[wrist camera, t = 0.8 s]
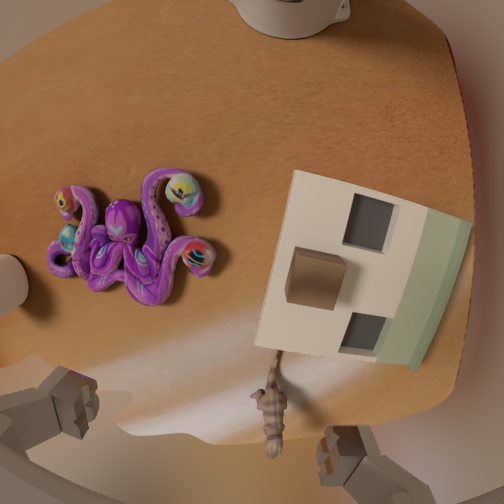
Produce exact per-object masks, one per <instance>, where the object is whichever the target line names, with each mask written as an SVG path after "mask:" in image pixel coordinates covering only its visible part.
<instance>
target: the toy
mask: <svg viewBox="0 0 504 504" xmlns="http://www.w3.org/2000/svg"><path fill="white" fill-rule="evenodd" d="M279 357H280V350H278V353H277V356H276V358H275V360H274V362H273V364H272V367H271V370H270V372H269V375H268V379H267V384H266V390H265V394H264V393H263V390H258V391H257V392H255V393H254V394H252V395H251V396H250V397H251V398H256V401H257V409H258V410H262V411H263V417H264V421H265V425H264V427H263V431H264V433H265V435H267V438H266V442H265V450H266V451H267V452H266V455H267V457H268V458H269V459H271V460H272V459H274V458H275V457H276V456H277V455H280V454H281V450H282V447H283V440H282V431H283V430H284V427H285V425H284V424H283V416H284V409H286V408H287V398H286V397H285V396H284V395H283V393H282V392H279V390H278V387H277V383H276V372H277V365H278V361H279ZM266 430H267V433H266Z"/></svg>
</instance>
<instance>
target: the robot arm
mask: <svg viewBox="0 0 504 504" xmlns="http://www.w3.org/2000/svg"><path fill="white" fill-rule="evenodd" d="M228 1H229V2H231V3H233V4H234V5H235V7H236V8H237V10H238V12H239V14H240V16H241V17H242V18H243V19H244V21H245V22H246V23H247V24H249V25H250V26H251V27H253V28H254V29H256V30H258V31H260V32H262V33H264V34H267V35H270V36H273V37H278V38H286V39H296V38H304V37H308V36H311V35H314V34H316V33H318V32H320V31H322V30H323V29H324V28H326V27H327V26H329V25H330V24H332V23H337V22H342V21H346V20H347V19H349V16H350V5H349V0H228ZM341 7H343V8H341ZM97 388H98V387H97V381H96V380H94V379H92V378H90V377H87V376H84V375H82V374H79V373H77V372H74V371H72V370H69V369H67V368H64V367H62V366H59V367H57V368H56V369H55V370H54V371H53V372H52V373H51V374H50V375H49V376H48V377H47V378H46V379H45V380H44V381H43V382H42V383H41V384H40V386H39V387H38V388H37V389H36V388H34V387H33V388H29V389H26V390H22V391H18V392H14V393H10V394H6V395H2V396H0V504H129V503H126V502H123V501H120V500H117V499H114V498H111V497H108V496H105V495H103V494H100V493H98V492H95V491H92V490H90V489H87V488H85V487H83V486H81V485H78V484H76V483H74V482H71V481H69V480H67V479H65V478H63V477H61V476H58V475H57V474H55V473H52V472H50V471H49V470H47V469H45V468H43V467H41V466H39V465H37V464H35V463H34V462H32V461H30V460H29V458H28V455H27V454H26V452H25V451H26V450H28V449H30V448H32V447H34V446H36V445H38V444H40V443H42V442H44V441H46V440H48V439H50V438H52V437H54V436H56V435H58V434H60V433H61V432H63V433H66V434H68V435H71V436H73V437H76V438H78V439H81V440H82V439H83V437H84V435H85V434H86V432H87V430H88V429H89V426H88V422H91V421H93V420H94V419H95V417H96V416H97V412H98V409H99V397H98V396H97V394H96V393H95V391H96V390H97ZM324 433H325V437H324V438H322V439H321V440H320V441H319V443H318V446H317V450H316V461H317V464H318V465H319V466H321V469H320V471H319V478H320V484H321V486H343V488H344V489H345V490H346V491H347V492H348V493H349V494H350V495H351V496H352V498H353V499H354V500H355V501H356V502H357V503H358V504H436V502H435V499H434V497H433V495H432V492H431V490H430V488H429V486H428V485H426V484H425V483H423V482H422V481H420V480H418V479H417V478H416V477H414V476H413V475H412V474H410V473H409V472H408V471H406V470H405V469H403V468H402V467H401V466H399V465H398V464H396V463H395V462H394V461H392V460H391V459H390V458H388V457H387V456H385V455H381V453H380V450H379V448H378V445H377V443H376V440H375V438H374V435H373V433H372V430H371V428H370V426H369V425H332V424H329V425H328V426H327V427H326V429H325V431H324ZM458 504H504V486H502V487H499V488H497V489H495V490H492V491H490V492H487V493H485V494H482V495H480V496H477V497H475V498H472V499H469V500H467V501H464V502H461V503H458Z"/></svg>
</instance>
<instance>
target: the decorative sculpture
mask: <svg viewBox="0 0 504 504" xmlns="http://www.w3.org/2000/svg"><path fill="white" fill-rule="evenodd" d="M165 179H171V180H170V181H169V182H168V184H167V186H166V190H165V194H166V197H167V199H168V200H170V201H171V202H173V203H180V204H177V205H176V206H175V210H176V212H177V213H178V214H179V215H181V216H183V217H189V216H193V215H195V214H197V213H198V212H199V211H200V209H201V208H202V206H203V202H204V200H203V193H202V189H201V188H200V186H199V184H198V182H197V180H196V179H195V177H194V176H193V175H192V174H189V173H188V172H186V171H184V170H182V169H179V168H175V167H160V168H156V169H154V170H152V171H150V172H149V173H148V174H147V175H146V177H145V179H144V181H143V183H142V186H141V205H142V209H143V213H144V216H145V219H146V223H147V228H148V232H147V239H146V241H145V243H144V245H143V247H142V249H141V248H139V247H137V246H136V245H135V244H136V243H137V242H138V240H139V229H140V224H141V213H140V211H139V208H138V207H137V206H136V205H135V204H134V203H133V202H131V201H129V200H125V199H117V200H115V201H113V202H112V203H111V204H110V205H109V206H108V207H107V209H106V211H105V212H106V214H105V224H106V225H96V224H97V221H98V216H99V207H98V202H97V199H96V197H95V195H94V194H93V193H92V192H91V191H90V189H88V188H86V187H85V186H80V185H77V186H73V185H66V186H64V187H62V188H61V189H59V190H58V191H57V193H56V195H55V199H54V201H55V204H56V206H57V208H58V209H59V210H60V211H61V213H62V216H63V218H64V219H65V220H67V221H69V220H71V219H72V217H73V215H72V213H71V212H76V211H77V209H78V208H79V206H80V205H82V208H83V215H82V219H81V222H80V224H79V227H78V228H77V227H76V226H73V225H71V224H68V225H66V226H65V227H63V228H62V230H61V231H60V234H59V239H55V240H53V241H52V242H51V244H50V245H49V248H48V251H47V264H48V267H49V269H50V271H51V273H52V274H54V275H55V276H57V277H62V278H68V277H71V276H73V275H74V274H75V272H76V273H77V275H78V276H79V277H80V278H82V279H84V280H87V281H88V287H89V289H90V290H91V291H92V292H100V291H103V290H105V289H107V288H108V287H109V286H110V285H112V284H113V283H115V282H116V281H121V282H125V286H126V289H127V291H128V293H129V294H130V296H131V297H132V298H133V299H134V300H135V301H137V302H139V303H140V304H143V305H146V306H158V305H160V304H163V303H164V302H165V301H166V300H167V299H168V297H169V295H170V293H171V290H172V288H173V281H174V272H175V268H176V265H177V261H178V258H180V257H181V256H182V258H183V262H184V263H185V264H186V265H187V266H188V267H189V268H192V269H191V270H190V272H191V273H192V274H194V275H195V276H197V277H199V278H201V277H205V276H206V275H207V274H208V273H209V272H210V271H211V269H212V266H213V262H214V260H215V259H216V257H217V254H216V251H215V248H214V247H213V246H212V245H211V244H210V243H209V242H208V241H207V240H205V239H203V238H201V237H195V238H194V237H192V236H178V237H177V238H175V239H174V240H173V241H172V242H170V241H171V236H172V234H171V230H170V227H169V225H168V222H167V219H166V218H165V216H164V214H163V212H162V210H161V209H160V207H159V204H158V202H157V199H156V190H157V186H158V185H159V183H160V182H161V181H162V180H165ZM109 237H110V238H109ZM92 239H93V240H92ZM110 239H111V240H112V241H111V242H109V241H110ZM113 241H116V242H113ZM121 241H123V242H121ZM108 242H109V243H108ZM169 243H170V244H169ZM168 244H169V246H168ZM167 246H168V248H167ZM100 247H102V248H101V249H100ZM166 248H167V249H166ZM99 249H100V250H99ZM98 250H99V252H98ZM164 251H165V254H164ZM70 253H72V254H71V257H72V258H71V259H70V260H69V261H68V263H65V264H61V263H60V261H59V255H60V254H63V255H67V256H69V255H70ZM97 253H98V254H97ZM163 254H164V257H163ZM123 256H124V270H117V269H118V267H119V264H120V262H121V259H122V257H123ZM162 257H163V259H162ZM161 259H162V263H161ZM160 267H161V268H160ZM159 271H160V272H159ZM158 274H159V275H158ZM157 275H158V277H157Z"/></svg>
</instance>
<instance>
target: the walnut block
mask: <svg viewBox="0 0 504 504" xmlns="http://www.w3.org/2000/svg"><path fill="white" fill-rule="evenodd" d="M346 269H347V264H346V263H345V262H344V261H343V260H342V259H341V258H340V257H339V255H334V254H330V253H325V252H320V251H316V250H311V249H306V248H302V247H297V246H295V248H294V252H293V256H292V260H291V264H290V268H289V272H288V276H287V280H286V284H285V288H284V291H285V296H286V301H287V303H292V304H298V305H303V306H309V307H314V308H320V309H325V310H331V311H333V310H334V307H335V304H336V301H337V298H338V295H339V292H340V288H341V285H342V282H343V279H344V275H345V272H346Z"/></svg>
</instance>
